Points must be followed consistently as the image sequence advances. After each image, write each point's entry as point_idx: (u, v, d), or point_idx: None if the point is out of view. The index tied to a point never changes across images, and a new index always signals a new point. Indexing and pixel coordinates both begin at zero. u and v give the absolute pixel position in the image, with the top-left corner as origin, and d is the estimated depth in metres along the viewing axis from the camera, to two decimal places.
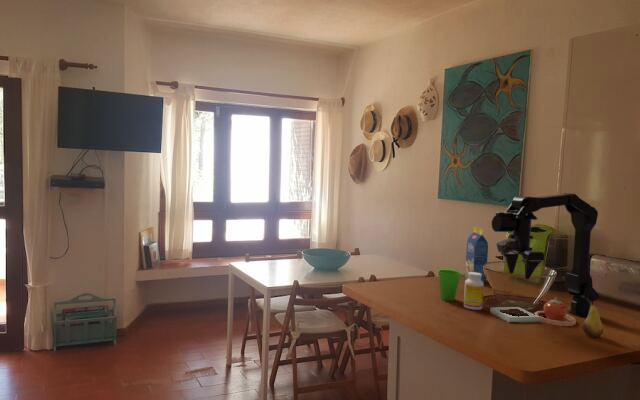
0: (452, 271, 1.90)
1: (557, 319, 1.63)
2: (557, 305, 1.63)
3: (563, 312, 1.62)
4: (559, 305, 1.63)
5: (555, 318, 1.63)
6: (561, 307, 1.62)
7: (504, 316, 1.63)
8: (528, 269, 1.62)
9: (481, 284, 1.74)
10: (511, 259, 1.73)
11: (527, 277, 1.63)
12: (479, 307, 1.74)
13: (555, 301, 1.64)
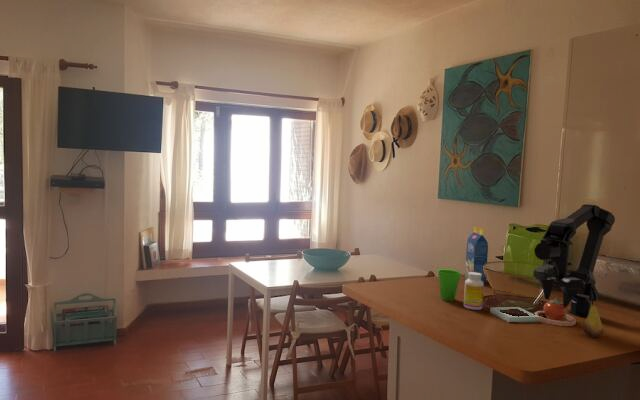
0: (452, 271, 1.90)
1: (557, 319, 1.63)
2: (557, 305, 1.63)
3: (563, 312, 1.62)
4: (559, 305, 1.63)
5: (555, 318, 1.63)
6: (561, 307, 1.62)
7: (504, 316, 1.63)
8: (567, 297, 1.59)
9: (481, 284, 1.74)
10: (547, 285, 1.70)
11: (565, 304, 1.61)
12: (479, 307, 1.74)
13: (555, 301, 1.64)
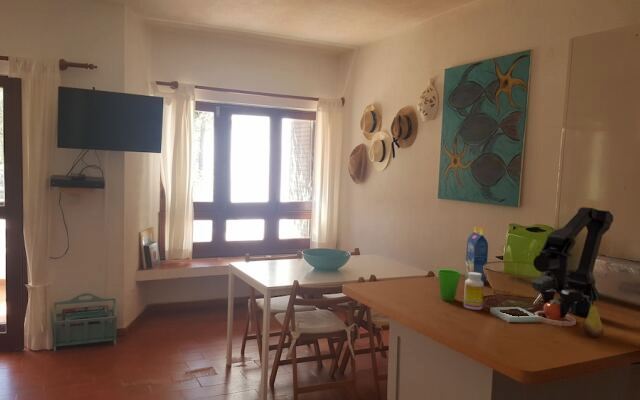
0: (452, 271, 1.90)
1: (557, 319, 1.63)
2: (557, 305, 1.63)
3: None
4: (559, 305, 1.63)
5: (555, 318, 1.63)
6: None
7: (504, 316, 1.63)
8: (564, 308, 1.61)
9: (481, 284, 1.74)
10: (548, 297, 1.69)
11: (562, 316, 1.62)
12: (479, 307, 1.74)
13: (555, 301, 1.64)
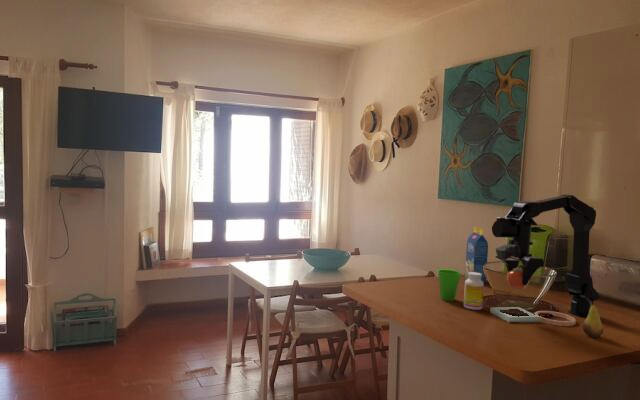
0: (452, 271, 1.90)
1: (519, 286, 1.63)
2: (519, 272, 1.63)
3: None
4: (521, 272, 1.63)
5: (518, 286, 1.63)
6: None
7: (504, 316, 1.63)
8: (526, 275, 1.61)
9: (481, 284, 1.74)
10: (511, 266, 1.70)
11: (524, 283, 1.62)
12: (479, 307, 1.74)
13: (518, 269, 1.65)
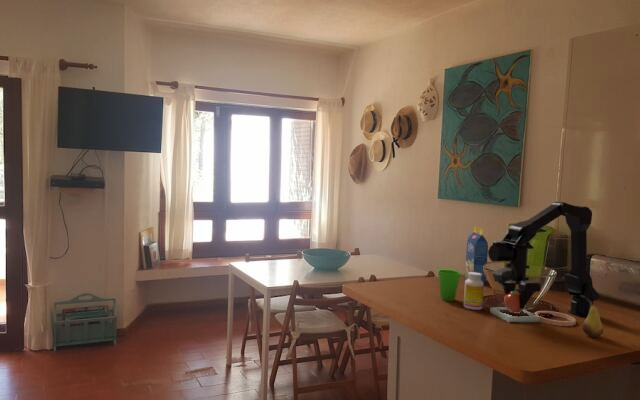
0: (452, 271, 1.90)
1: (517, 310, 1.64)
2: (516, 296, 1.64)
3: None
4: (518, 296, 1.64)
5: (515, 309, 1.64)
6: None
7: (504, 316, 1.63)
8: (523, 299, 1.62)
9: (481, 284, 1.74)
10: (509, 288, 1.70)
11: (522, 307, 1.63)
12: (479, 307, 1.74)
13: (515, 292, 1.66)
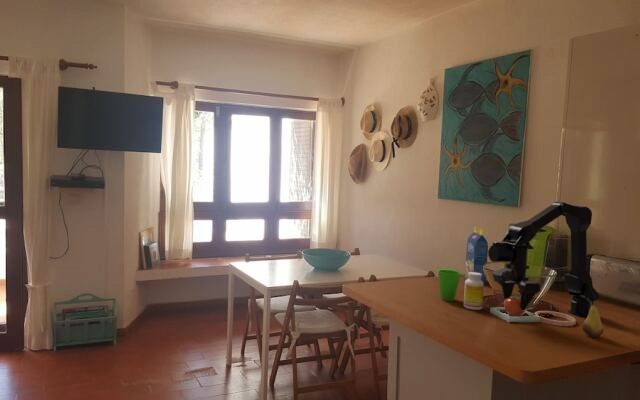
0: (452, 271, 1.90)
1: (516, 314, 1.64)
2: (516, 300, 1.64)
3: None
4: (518, 300, 1.64)
5: (515, 314, 1.64)
6: (520, 302, 1.64)
7: (504, 316, 1.63)
8: (524, 300, 1.61)
9: (481, 284, 1.74)
10: (507, 288, 1.71)
11: (523, 308, 1.62)
12: (479, 307, 1.74)
13: (515, 296, 1.66)
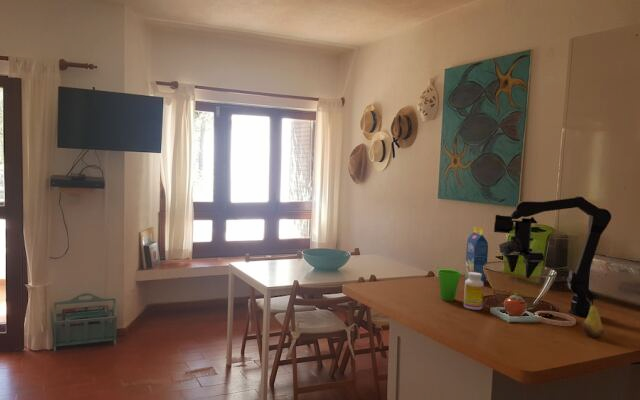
0: (452, 271, 1.90)
1: (516, 314, 1.64)
2: (516, 300, 1.64)
3: (522, 307, 1.63)
4: (518, 300, 1.64)
5: (515, 314, 1.64)
6: (520, 302, 1.64)
7: (504, 316, 1.63)
8: (529, 269, 1.75)
9: (481, 284, 1.74)
10: (512, 259, 1.86)
11: (528, 276, 1.76)
12: (479, 307, 1.74)
13: (515, 296, 1.66)
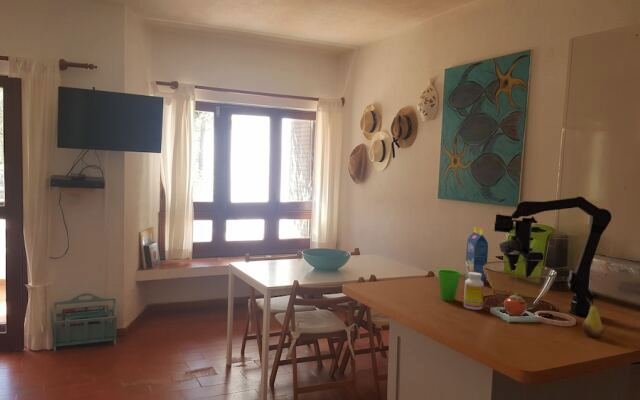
0: (452, 271, 1.90)
1: (516, 314, 1.64)
2: (516, 300, 1.64)
3: (522, 307, 1.63)
4: (518, 300, 1.64)
5: (515, 314, 1.64)
6: (520, 302, 1.64)
7: (504, 316, 1.63)
8: (528, 268, 1.76)
9: (481, 284, 1.74)
10: (513, 259, 1.87)
11: (527, 275, 1.77)
12: (479, 307, 1.74)
13: (515, 296, 1.66)
